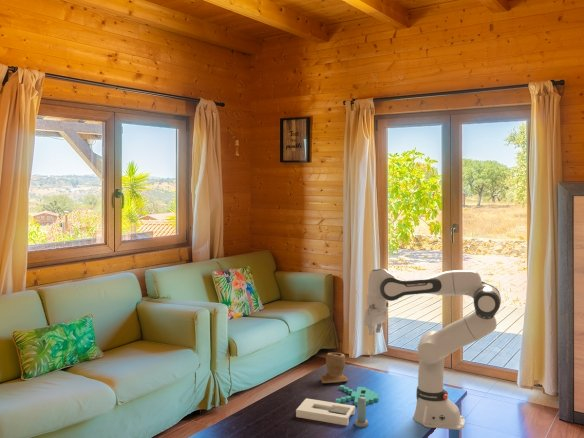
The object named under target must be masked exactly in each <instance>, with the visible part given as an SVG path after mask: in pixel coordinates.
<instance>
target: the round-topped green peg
mask: <svg viewBox="0 0 584 438" xmlns="http://www.w3.org/2000/svg"><path fill="white" fill-rule="evenodd" d="M366 410H367V405H366V398H365V397H362V396H361V397H358V406H357V412H356V413H357V415H356V419H354V426H355V427H357V428H367V427H368V426H369V420H367V418H366V416H367V415H366V413H367V412H366Z"/></svg>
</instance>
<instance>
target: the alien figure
mask: <svg viewBox="0 0 584 438" xmlns="http://www.w3.org/2000/svg"><path fill="white" fill-rule="evenodd" d="M339 391H343V393H347V395H346V396H340V398H338V397H337V398H335V403H339V404H345V403H346V402H351V401H354V402H353V403H354V404H353V406H355V407H356V406H357V407H358V397H361V396H362V397H365V398H366V406H369V404H374V403H379V399H380V398H379V397H380V393H379V392H378V393H377V392H375V390H371V388H370V389H369V388H367V387H364V386H357V388H356V391H354V390H353V389H351V388H349V387H347V386H345V385H343V384H341V385H339Z"/></svg>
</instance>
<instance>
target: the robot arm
mask: <svg viewBox="0 0 584 438" xmlns="http://www.w3.org/2000/svg"><path fill="white" fill-rule="evenodd" d="M481 278H482V277H481V276H480V274H479V272H477V271H475V270H466V269H457V270H455V269H454V270H447V271H444V272H443V271H442V272H439V273H436V274H434V275H432V276H428V277H426V278H421V279H412V280H411V279H410V280H405V279H404V278H402V277H399V276H397V275H395V274H393V273H391V272H390V271H388V270H387V269H386V268H377V269H372V270H371V271H370V272H369V275H368V278H367V279H368V280H367V295H366V296H367V297H366V307H367V308H366V310H365V314H364V325H365V326H367V329H368V335H369V336H373V335H374V333H381V331H382V329H381V328H382V325H383V323H386V319H387V313H388V307H389V302H391V301H392V302H393V301H397V300H398V299H401V298H403V297H405V296H411V295H422V294H429V295H436V296H445V297H446V296H447V297H454V296H469V297H471V298H472V299H473V306H474V311H473V312H472V313H470V314H468V315H466V316H463V317H461V318H460V319H457V320H455V321H453V322H451V323H449V324H447V325H446V326H445V327H443V328H441V329H439V330H434V329H433V330H429V331H427V332H425V333H424V334H423V335H422V336H421V338H420V341H419V343H418V344H417V350H416V351H417V356H418V359H419V363H418V372H417V373H418V375H417V379H418V380H417V387H416V397H415V398H416V406H415V410H414V413H413V419H414V421H416V422H417V423H419V424H421V425H423V427H425V428H431V429H442V430H443V429H444V430H445V429H446V430H455V431H457V430H458V431H461V430H462V429H464V428H465V425H466V419H465V417H464V416H463V415H461V413H460V408H459V407H458V405H456V404H455V403H454V402H453V401H452V400H451V399H449V396H448V392H449V391H448V390H447V389H446V390H445V389H444V374H445V373H444V371H445V360H446V359H445V358H446V357H448V356H450V355H451V354H453V353H454V352H456V351H458V350H460V349H461V348H463V347H465V346H468V345H470V344H472V343H474V342H477V341H479V340H480V339H482V338H484V337H487V336H488V335H489V334H491V333H492V332H494V331H495V330H496V329H497V319H496V317H495V315H496V314H497V313H498V311H499V309H500V306H501V303H502V296H501V293H500V291H499V289H498V288H497V287H495V286H493V285H492V284H489V283H487V282H484V281H482V279H481ZM375 326H376V328H375V331H374V327H375Z"/></svg>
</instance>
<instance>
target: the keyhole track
mask: <svg viewBox="0 0 584 438" xmlns="http://www.w3.org/2000/svg"><path fill="white" fill-rule="evenodd" d="M355 413H356V406H354V405H350V404H345V403H341V404H339V403H336V402H331V401H325V400H319V399H312V398H307V397H306V398H305V399H304V400H303V401H302V402H301V403H300V405H299V406H298V407H297V408H296V409H295V417H296V418H302V419H307V420H311V421H318V422H324V423H330V424H335V425H340V426H341V425H342V426H348V425H349V422H350V420H349V419H350V417H351V416H354V415H356V414H355Z"/></svg>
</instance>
